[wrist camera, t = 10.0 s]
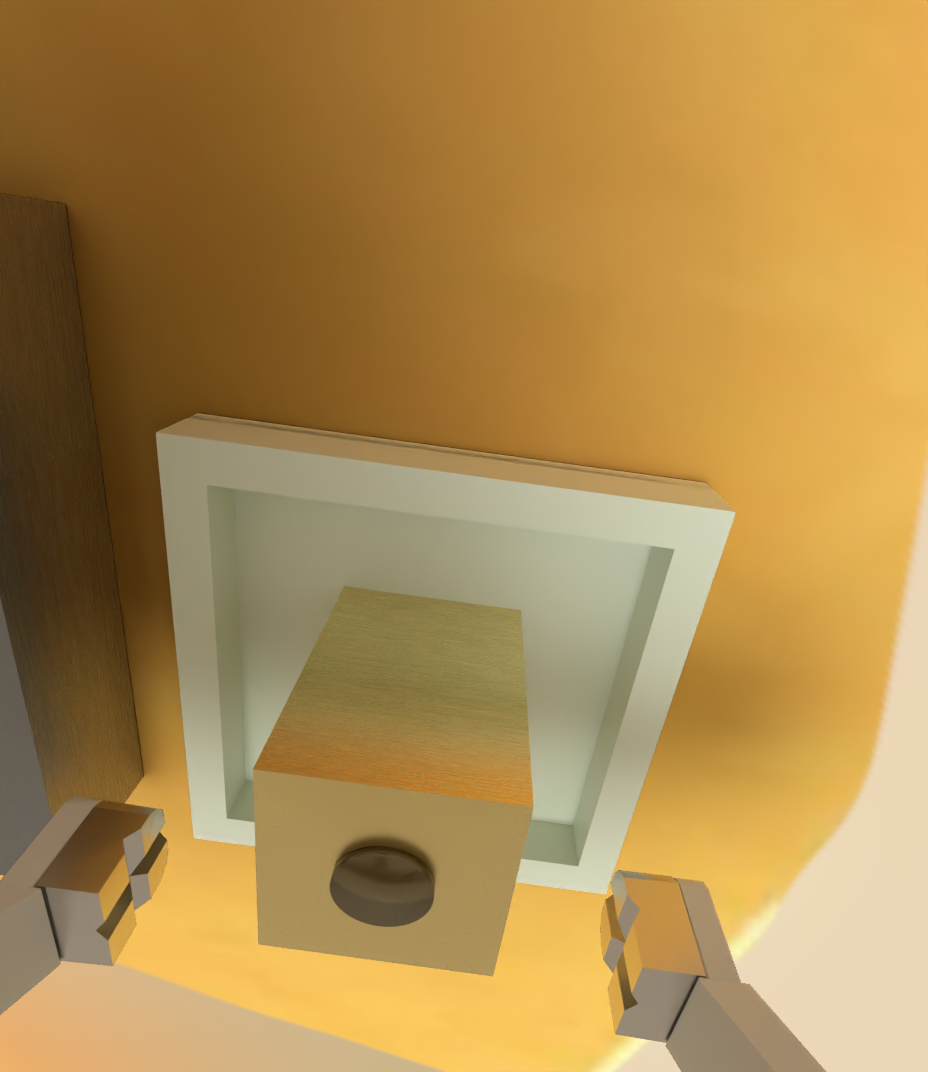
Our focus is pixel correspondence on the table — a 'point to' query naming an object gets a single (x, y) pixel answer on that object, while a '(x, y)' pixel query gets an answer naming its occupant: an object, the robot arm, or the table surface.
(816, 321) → the table surface
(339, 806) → the tan rectangular block
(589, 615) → the parts tray
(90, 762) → the grey recessed block
